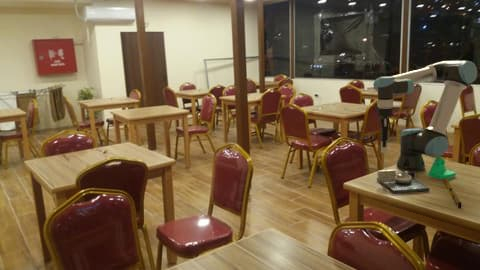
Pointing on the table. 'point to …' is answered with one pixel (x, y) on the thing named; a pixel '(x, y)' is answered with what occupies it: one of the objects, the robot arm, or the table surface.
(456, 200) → the spirit level
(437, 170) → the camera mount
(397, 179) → the silver ladle
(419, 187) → the stand
